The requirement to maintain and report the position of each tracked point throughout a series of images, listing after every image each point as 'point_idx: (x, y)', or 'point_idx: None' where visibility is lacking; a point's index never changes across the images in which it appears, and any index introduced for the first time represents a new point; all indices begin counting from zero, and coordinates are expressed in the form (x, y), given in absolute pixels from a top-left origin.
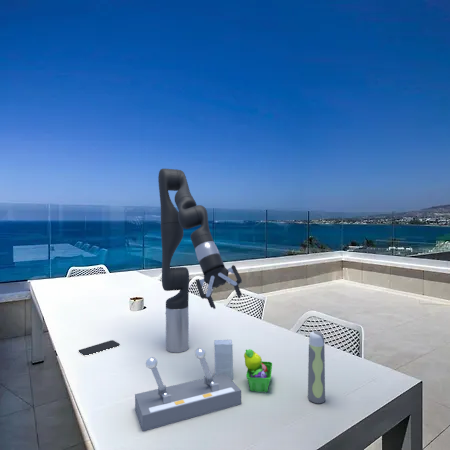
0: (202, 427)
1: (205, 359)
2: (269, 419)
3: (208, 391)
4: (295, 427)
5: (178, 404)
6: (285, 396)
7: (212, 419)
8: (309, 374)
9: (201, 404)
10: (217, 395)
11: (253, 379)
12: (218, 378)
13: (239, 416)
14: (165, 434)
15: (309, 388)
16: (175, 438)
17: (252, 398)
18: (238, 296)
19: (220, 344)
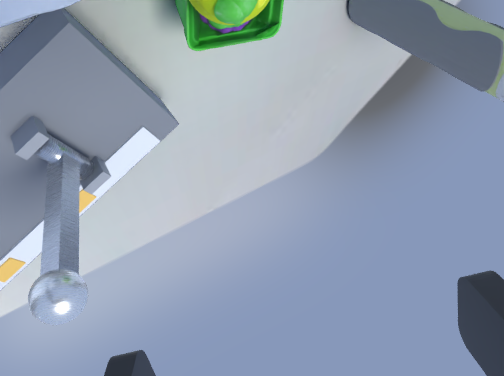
0: (89, 225)
1: (78, 262)
2: (241, 130)
3: None
4: (291, 131)
5: (10, 275)
6: (289, 6)
7: None
8: (405, 43)
9: None
10: (111, 185)
11: (213, 42)
12: (58, 80)
13: (168, 152)
14: (9, 284)
15: (372, 27)
16: None
17: (189, 55)
18: (471, 343)
19: (36, 12)
